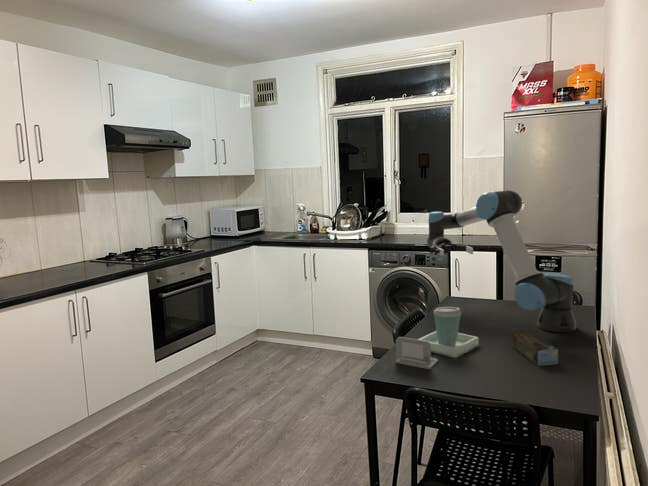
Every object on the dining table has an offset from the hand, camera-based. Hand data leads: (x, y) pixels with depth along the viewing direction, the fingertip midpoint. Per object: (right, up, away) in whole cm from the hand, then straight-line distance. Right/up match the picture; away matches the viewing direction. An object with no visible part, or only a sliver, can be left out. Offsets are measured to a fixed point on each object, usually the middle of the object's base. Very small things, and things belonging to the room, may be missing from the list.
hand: (457, 251), depth 223 cm
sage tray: (-11, -37, -28) cm, 48 cm away
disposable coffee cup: (-12, -36, -28) cm, 47 cm away
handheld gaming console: (-26, -40, -42) cm, 63 cm away
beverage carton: (+17, -38, -40) cm, 58 cm away
